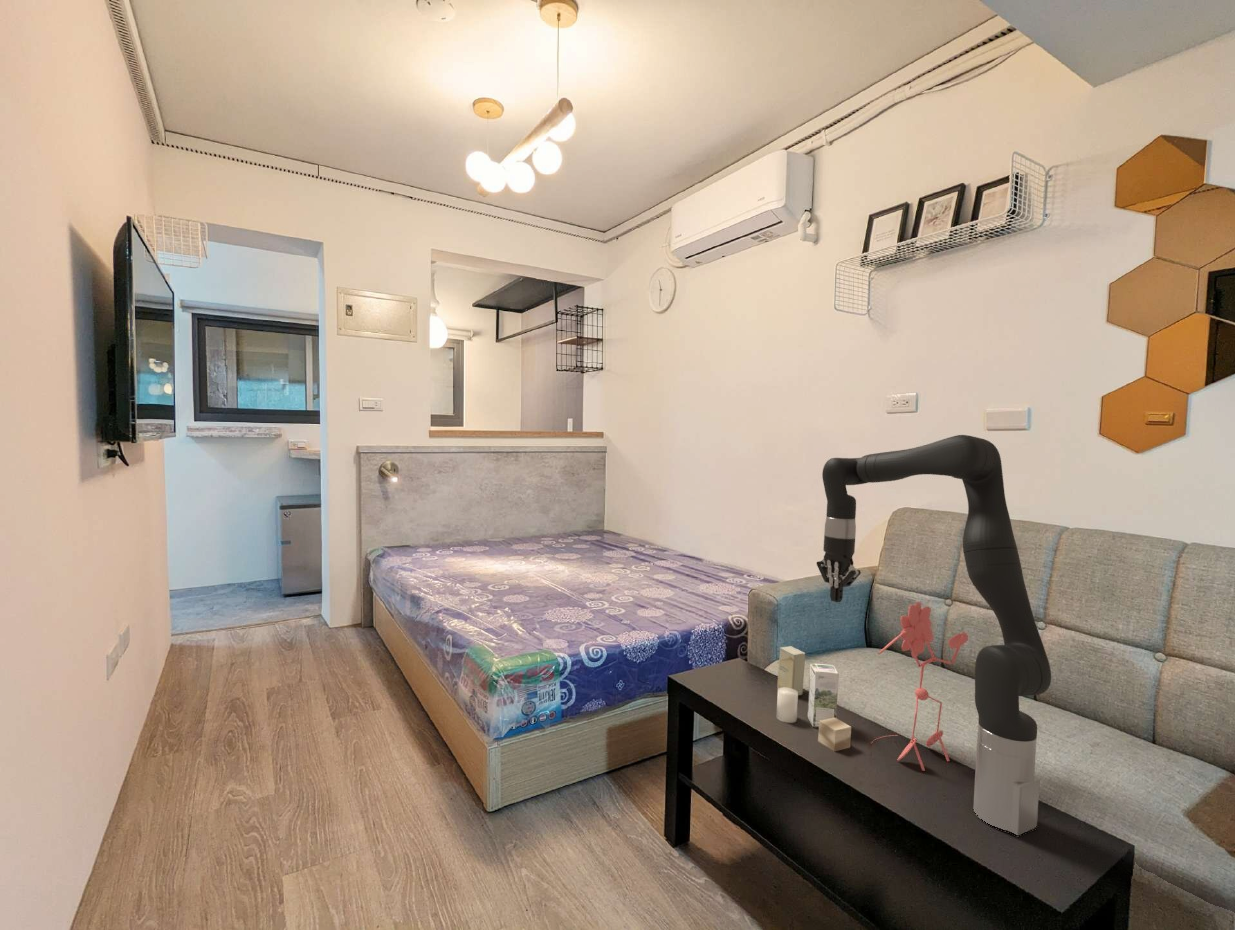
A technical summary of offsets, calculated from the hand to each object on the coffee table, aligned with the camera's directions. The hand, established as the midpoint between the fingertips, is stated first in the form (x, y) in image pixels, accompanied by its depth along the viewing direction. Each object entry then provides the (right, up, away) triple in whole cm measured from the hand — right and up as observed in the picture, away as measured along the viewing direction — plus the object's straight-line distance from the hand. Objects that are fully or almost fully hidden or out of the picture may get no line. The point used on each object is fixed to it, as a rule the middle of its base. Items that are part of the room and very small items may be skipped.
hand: (835, 601), depth 149 cm
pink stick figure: (+11, -31, -16) cm, 37 cm away
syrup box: (-5, -31, -3) cm, 31 cm away
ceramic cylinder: (-13, -30, -1) cm, 33 cm away
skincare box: (-7, -30, +15) cm, 34 cm away
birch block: (-6, -31, -14) cm, 34 cm away
